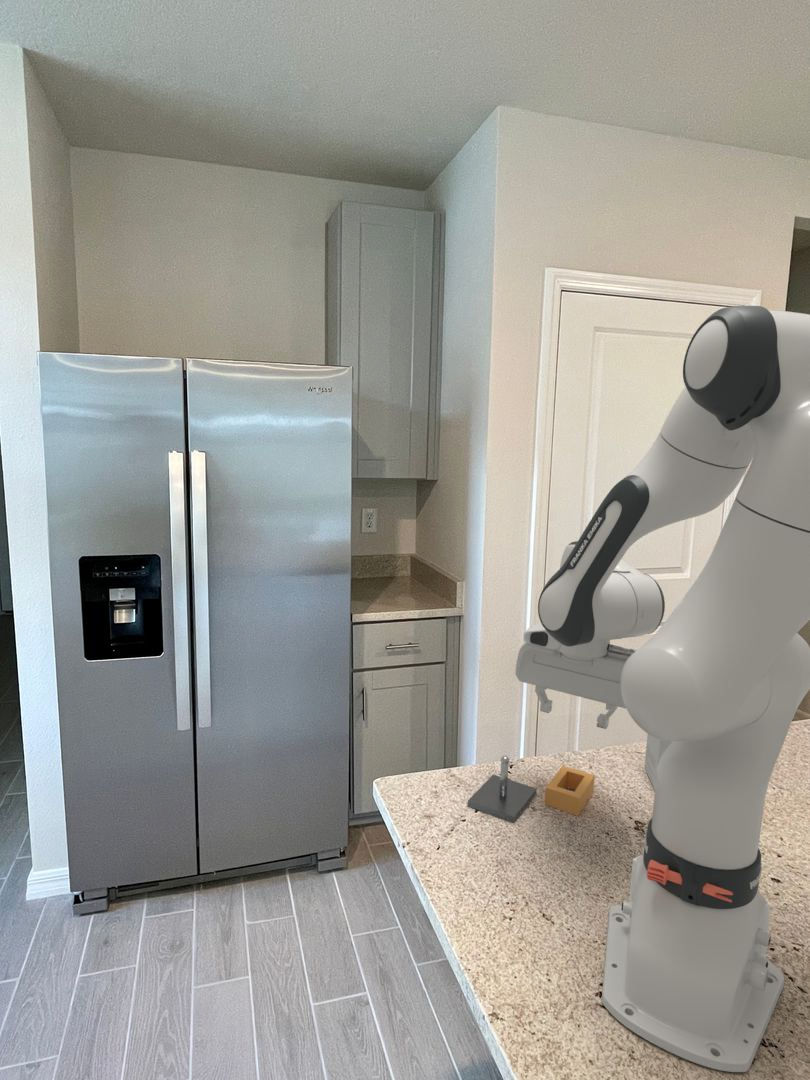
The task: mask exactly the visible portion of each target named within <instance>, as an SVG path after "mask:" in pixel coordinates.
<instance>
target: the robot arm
mask: <svg viewBox="0 0 810 1080" xmlns="http://www.w3.org/2000/svg"><path fill="white" fill-rule="evenodd" d="M682 366H683V367H682V378H683V382H684V388H683V389H682V391H681V392H680V394H679V396H678V397H677V399H676V400H675V402H674V404H673V405H672V407H671V408H670V411H669V412H668V414H667V416H666V418H665V420H664V422H663V424H662V426H661V428H660V430H659V432H658V434H657V436H656V438H655V440H654V442H653V444H652V445H651V446H650V448H649V449H648V450H647V453H646V454H645V455H644V456H643V458H642V459H641V460H640V462H639V463H638V464H636V466H635V467H634V468H633V469H632V471H630V472H629V473H628V474H627V475H626V476H625V477H622V479H621V480H619V481H618V482H617V483H616V484H615V485H614V486H613V487H612V488H611V489H610V490H609V492H608V493H607V495H606V496H605V497H604V499H603V500H602V502H601V503H600V505H599V507H598V508H597V509H596V511H595V512H594V514H593V516H592V517H591V519H590V521H589V522H588V524H587V526H586V528H585V529H584V531H582V533H581V535H580V537H579V539H578V540H575V541H572V542H570V543H568V544H567V545H566V546H565V548H564V550H563V553H562V556H561V561H560V566H559V569H558V570H557V571H556V572H555V573H554V574H553V575H552V576H551V577H550V578H549V580H548V581H547V582H546V584H545V585H544V587H543V588H542V591H541V593H540V596H539V598H538V603H537V614H538V618H539V622H537V623H535V624H533V625H532V626H530V627H528V628H527V629H526V630H525V632H524V633H523V640H524V643H523V644H522V645H521V646H520V647H519V649H518V650H519V651H518V654H517V658H516V664H515V676H516V678H517V680H518V681H519V682H522V683H525V684H528V685H533V686H535V689H534V692H535V693H536V696H537V698H538V700H539V702H540V707H539V709H540V710H539V711H540V712H542V713H546V714H550V712H552V710H553V700H551V699H549V698H548V695H547V693H546V690H547V689H548V690H552V691H556V692H561V693H564V694H568V695H572V696H576V697H578V698H582V699H586V700H587V699H588V700H591V701H594V702H597V703H598V702H599V703H603V704H605V710H607V712H606V713H605V714H604V713H600V714H599V715H598V716H597V720H596V727H597V728H599V729H603V730H607V729H608V727H609V722H610V718H611V717H612V715H614V714H615V712H616V710H617V709H618V707H619V708H622V709H626V711H627V712H628V715H629V716H630V717H631V719H632V720H633V722H634V723H635V724H636V725H637V726H638V727H639V728H640V729H641V730H642V731H643V732H645V733H646V734H647V735H648V734H649V735H651V736H653V737H655V738H657V739H660V740H665V741H672V743H671V744H670V745H669V747H668V748H667V749H666V750H665V751H664V753H663V755H662V756H661V758H660V761H659V763H658V766H657V773H656V783H655V790H654V795H653V805H652V814H651V815H652V816H651V818H650V820H649V821H648V823H647V828H646V832H645V835H644V842H643V844H644V845H643V846H644V847H643V848H644V850H643V853H642V854H640V855H638V856H635V857H633V858H632V866H631V867H632V869H631V879H630V890H629V898H628V899H629V901H627V900H623V902H622V903H621V904H616V905H613V906H611V907H610V909H609V913H608V919H607V930H606V941H605V954H604V955H605V956H604V967H603V978H602V979H603V980H602V989H601V991H602V992H601V994H602V995H601V1003H602V1005H603V1006H604V1007H605V1009H606V1010H607V1011H608V1012H609V1013H610V1014H611V1015H612V1016H613V1017H614V1018H615V1019H616V1020H618V1022H619V1023H621V1024H622V1025H623V1026H624V1027H626V1028H627V1029H629V1030H630V1031H631V1032H633V1033H635V1035H638V1036H639V1037H642V1038H643V1039H644V1040H646V1041H648V1042H650V1043H652V1044H653V1045H655V1046H656V1047H659V1048H661V1049H663V1050H665V1051H666V1052H669V1053H671V1054H673V1055H675V1056H678V1057H680V1058H682V1059H684V1060H687V1061H689V1062H692V1063H694V1064H697V1065H700V1066H703V1067H706V1068H710V1069H713V1070H718V1071H723V1072H728V1073H729V1072H730V1073H745V1072H747V1071H749V1069H750V1068H751V1066H752V1063H753V1062H754V1059H755V1056H756V1054H757V1051H758V1049H759V1046H760V1044H761V1042H762V1040H763V1037H764V1035H765V1032H766V1030H767V1027H768V1025H769V1022H770V1020H771V1018H772V1015H773V1013H774V1011H775V1008H776V1005H777V1003H778V1000H779V998H780V996H781V993H782V991H783V988H784V985H785V984H784V983H785V981H784V979H785V978H784V974H783V972H782V971H781V969H780V968H778V966H777V965H775V964H774V963H773V962H772V961H770V960H769V959H768V958H767V956H766V955H767V949H768V948H769V947H770V945H771V939H772V935H771V934H770V933H769V929H770V918H771V909H772V908H771V907H772V906H771V905H770V904H769V903H768V901H767V899H766V898H765V897H764V896H763V895H762V893H761V892H760V890H759V885H760V879H761V876H762V868H763V867H762V853H761V852H762V851H761V850H760V848H759V846H760V845H759V844H760V840H761V839H760V837H761V830H762V823H763V817H764V809H765V803H766V795H767V792H768V788H769V784H770V781H771V777H772V774H773V772H774V770H775V767H776V765H777V761H778V759H779V756H780V754H781V751H782V750H783V745H784V743H785V741H786V739H787V735H788V732H789V729H790V726H791V724H792V722H793V719H794V716H795V714H796V713H797V710H798V708H799V706H800V704H801V703H802V701H803V699H804V698H805V697H806V695H807V694H808V692H809V691H810V645H809V644H808V642H807V641H806V640H805V639H804V638H803V636H801V634H799V632H800V630H801V629H802V628H803V627H804V626H805V625H806V624H808V622H809V621H810V314H809V313H808V314H807V313H802V312H795V311H793V312H792V311H785V310H784V311H783V310H773V309H768V308H766V307H764V306H761V305H734V306H728V307H723V308H720V309H718V310H716V311H715V312H713V313H712V314H710V316H708V317H707V318H706V320H704V321H703V323H701V324H700V326H699V327H698V328H697V329H696V330H695V332H694V334H693V335H692V337H691V339H690V341H689V343H688V345H687V348H686V352H685V355H684V358H683V364H682ZM744 475H745V476H744ZM742 478H743V480H742ZM741 480H742V482H741ZM740 482H741V484H740V486H739V488H738V491H737V493H736V496H735V498H734V499H733V503H732V505H731V507H730V510H729V512H728V515H727V517H726V519H725V521H724V524H723V526H722V528H721V531H720V533H719V535H718V538H717V540H716V543H715V545H714V547H713V549H712V551H711V554H710V556H709V558H708V560H707V561H706V563H705V566H703V569H702V570H701V571H700V574H699V575H698V576H697V578H696V579H695V581H694V583H693V584H692V585H691V586H690V588H689V589H688V591H687V592H686V594H685V595H684V596H683V597H682V599H681V600H680V602H679V603H678V604H677V605H676V607H675V608H674V609H673V611H672V613H671V614H670V615H669V616H668V618H667V619H666V620H665V622H664V623H663V624H662V626H661V627H660V625H661V623H662V621H663V618H664V616H665V610H666V609H665V608H666V602H665V596H664V592H663V590H662V587H661V586H660V585H659V583H658V581H656V579H654V577H652V576H651V575H649V574H647V573H644V572H643V573H642V572H641V571H640V570H638V569H636V568H635V567H634V566H632V564H630V563H629V562H627V561H626V560H625V558H624V556H625V554H626V553H627V551H628V550H629V549H630V548H631V547H632V546H633V545H634V544H635V543H636V542H637V541H639V540H640V539H641V538H642V537H645V536H647V535H648V534H650V533H652V532H654V531H656V530H659V529H662V528H663V527H667V526H670V525H673V524H675V523H679V522H682V521H686V520H689V519H693V518H696V517H700V516H703V515H704V514H707V513H710V512H712V511H714V510H715V509H717V508H719V506H720V505H722V504H723V503H724V502H725V501H726V500H727V498H729V497H730V495H731V494H733V492H734V490H736V488H737V486H738V485H739V483H740ZM659 627H660V628H659ZM658 628H659V629H658ZM657 629H658V630H657ZM656 630H657V631H656ZM655 631H656V632H655ZM654 632H655V633H654ZM653 633H654V635H653V636H652V637H651V638H650V639H648V641H647V642H646V643H644V644H643V645H642V646H640V647H639V648H638V649H635V648H625V647H623V646H620V645H614V644H611V641H613V640H614V641H615V640H620V639H621V640H622V639H627V638H637V637H642V636H646V635H651V634H653Z"/></svg>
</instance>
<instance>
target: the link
mask: <svg viewBox="0 0 810 1080" xmlns="http://www.w3.org/2000/svg"><path fill="white" fill-rule="evenodd" d="M595 777H596V776H595V774H593V773H589V772H585V771H582V770H579V769H576V768H571V767H569V766H568V767H567V766H564V765H562V766H561V767H560V768H559V769H558V771H557V772H556V773H555V774H554V776H553V778H551V780H550V781H549V783H548V784H547V785H546V786H545V791H544V792H545V794H544V806H548V807H551V808H555V809H557V810H560V811H563V812H566V813H569V814H572V815H574V816H580V814H581V813H582V811H583V809H584V808H585V806H586V804H587V802H588V801H589V799H590V798H591V796H592V794H593V793H594V789H595V787H594V786H595V779H596V778H595ZM566 788H568V789H571V790H574V791H571V790H568V789H566Z"/></svg>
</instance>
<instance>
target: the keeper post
mask: <svg viewBox="0 0 810 1080" xmlns="http://www.w3.org/2000/svg"><path fill="white" fill-rule="evenodd" d="M509 764H510V758H509V757H508V756H507V755H503V756H501V757H500V775H497V774H492V775H491V776H490V777H488V779H487V780H486V781H485V782H484V783H483V784H482V786H480V787H479V788H478V790H476V792H474V793H473V795H472V796H470V798H469V799H467V808H472V809H474V810H477V811H479V812H482V813H485V814H488V815H491V816H494V817H497V818H499V819H502V820H505V821H508V822H510V823H515V822H516V821H517V819H518V818H519V817H520V816H521V815H522V813H524V811H525V809H526V808H527V807H528V806H529V804H531V802H532V801H533V799H534V798H535V796H537V793H538V788H537V787H534V786H531V785H528V784H524V783H521V782H517V781H515V780H512V779H508V778H509V766H510V765H509Z"/></svg>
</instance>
